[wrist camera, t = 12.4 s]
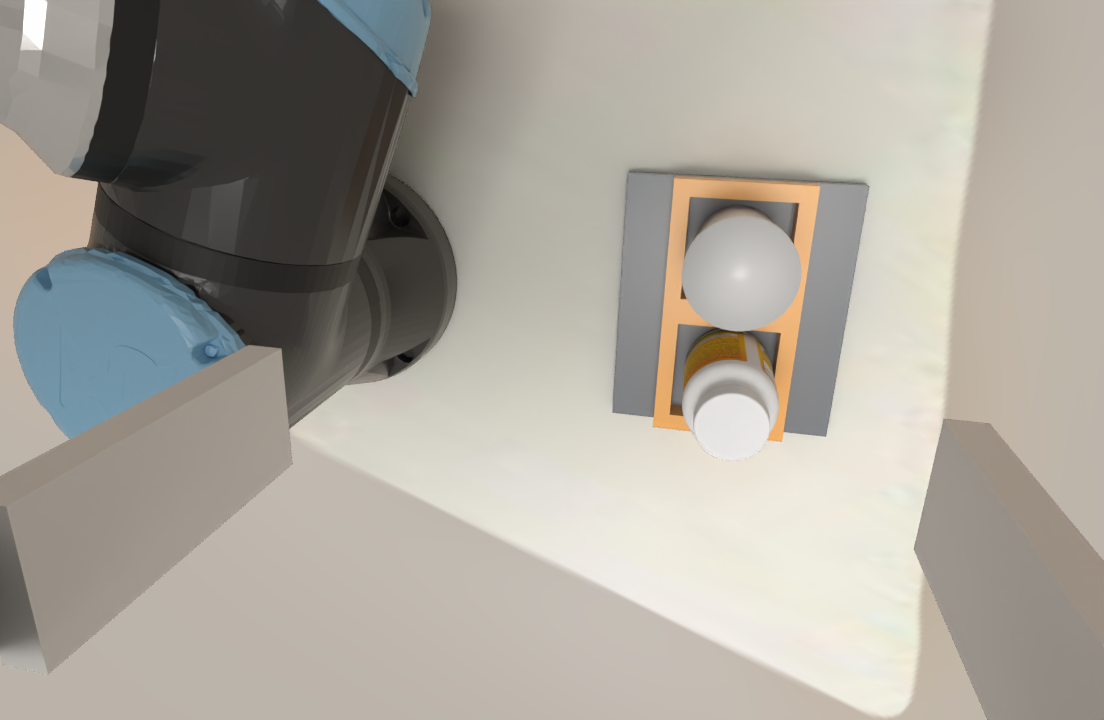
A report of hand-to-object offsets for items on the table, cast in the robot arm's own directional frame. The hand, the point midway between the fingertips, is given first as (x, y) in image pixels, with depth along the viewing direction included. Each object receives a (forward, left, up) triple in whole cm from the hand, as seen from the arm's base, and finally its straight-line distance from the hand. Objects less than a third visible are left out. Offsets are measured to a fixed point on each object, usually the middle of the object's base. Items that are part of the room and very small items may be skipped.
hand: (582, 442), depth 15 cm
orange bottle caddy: (+4, -6, -35) cm, 35 cm away
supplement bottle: (+4, -10, -34) cm, 35 cm away
